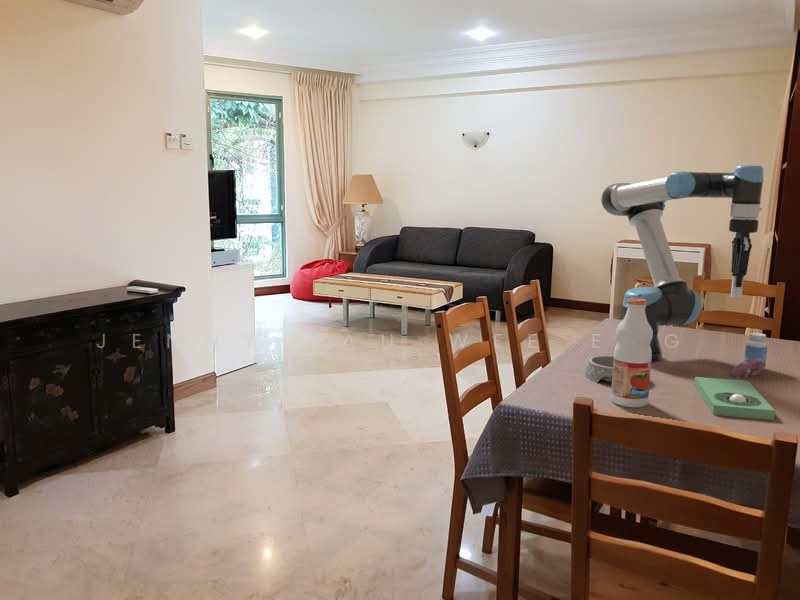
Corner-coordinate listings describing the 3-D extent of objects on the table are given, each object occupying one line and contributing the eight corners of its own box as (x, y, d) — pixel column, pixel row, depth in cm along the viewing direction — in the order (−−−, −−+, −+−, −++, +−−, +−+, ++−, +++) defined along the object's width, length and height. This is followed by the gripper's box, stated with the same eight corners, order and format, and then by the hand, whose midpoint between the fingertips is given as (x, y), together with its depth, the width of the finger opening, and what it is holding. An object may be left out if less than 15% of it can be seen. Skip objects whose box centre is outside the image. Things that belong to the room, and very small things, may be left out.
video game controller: (737, 383, 199) (748, 366, 195) (726, 373, 203) (737, 356, 199) (759, 380, 203) (771, 363, 200) (748, 370, 207) (759, 353, 203)
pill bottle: (767, 371, 207) (771, 337, 205) (746, 370, 208) (750, 335, 206) (761, 366, 213) (765, 332, 211) (740, 365, 214) (744, 331, 212)
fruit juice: (620, 394, 182) (628, 295, 177) (653, 402, 176) (662, 299, 171) (604, 402, 176) (611, 299, 171) (637, 410, 169) (646, 303, 164)
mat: (694, 385, 192) (695, 376, 191) (746, 389, 189) (747, 380, 188) (713, 414, 167) (714, 405, 167) (774, 420, 164) (775, 410, 163)
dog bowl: (591, 367, 210) (592, 351, 209) (651, 376, 201) (653, 359, 200) (577, 381, 195) (578, 363, 194) (642, 391, 187) (644, 372, 186)
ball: (730, 411, 171) (731, 399, 169) (727, 403, 174) (728, 390, 173) (746, 412, 170) (748, 399, 168) (743, 403, 173) (745, 391, 172)
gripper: (764, 220, 187) (755, 301, 191) (752, 217, 199) (744, 294, 203) (735, 219, 189) (727, 300, 193) (725, 217, 201) (717, 293, 205)
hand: (736, 297), depth 198 cm, fingers closed
